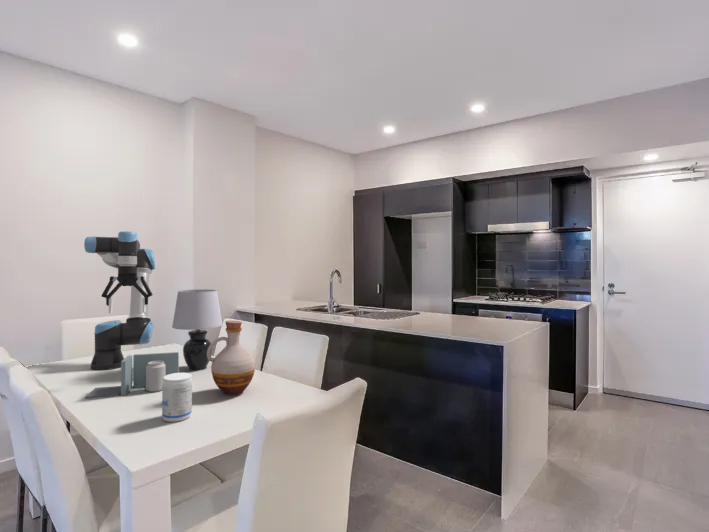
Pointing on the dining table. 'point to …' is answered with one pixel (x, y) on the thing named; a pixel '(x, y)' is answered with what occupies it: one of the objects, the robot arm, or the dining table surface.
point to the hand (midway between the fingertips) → (127, 312)
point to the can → (155, 375)
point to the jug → (232, 362)
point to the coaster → (104, 392)
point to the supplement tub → (177, 397)
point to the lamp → (197, 323)
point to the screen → (144, 368)
